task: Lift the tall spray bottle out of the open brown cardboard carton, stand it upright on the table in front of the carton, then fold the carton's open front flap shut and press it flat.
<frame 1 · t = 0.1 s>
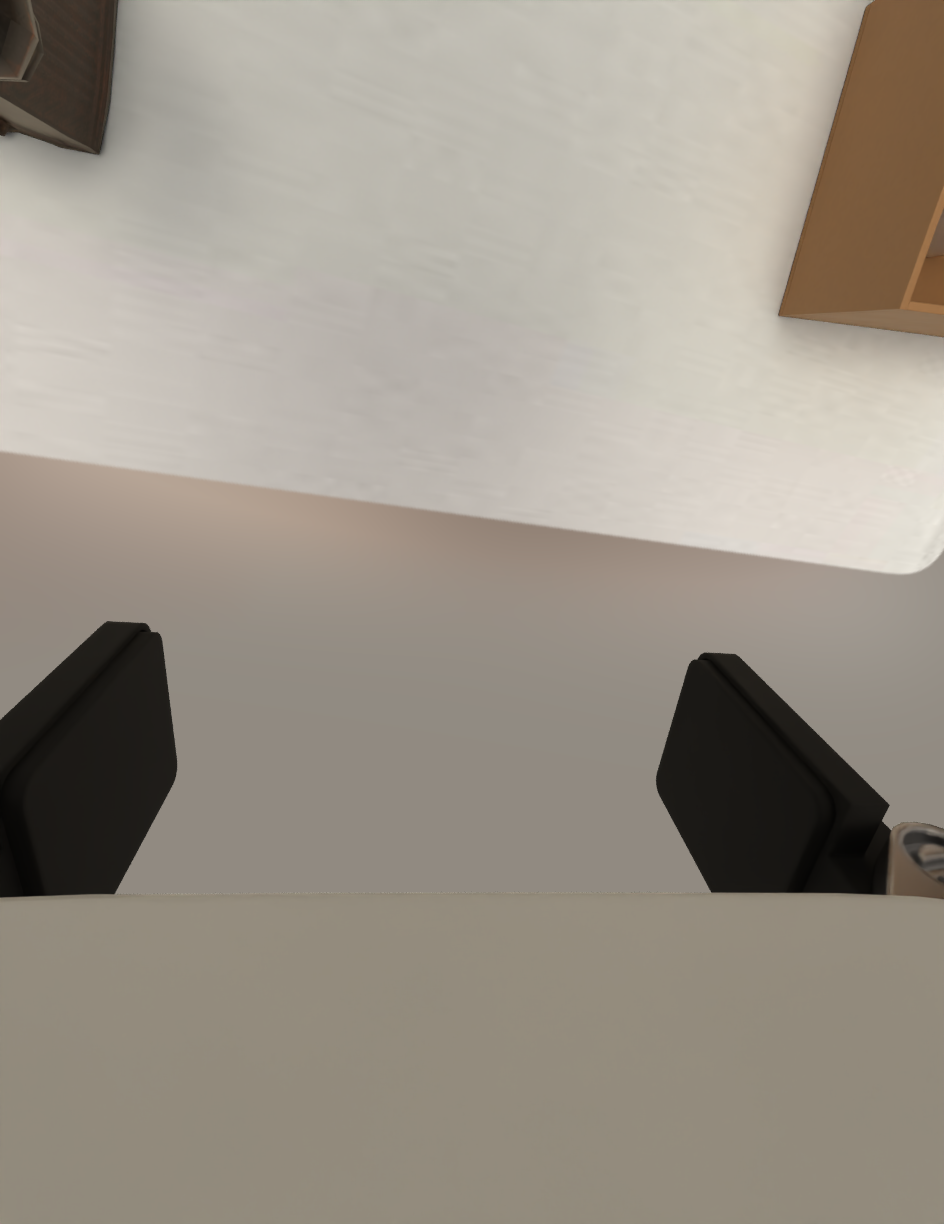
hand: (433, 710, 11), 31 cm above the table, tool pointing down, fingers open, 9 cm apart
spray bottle: (934, 192, 35), resting on carton
carton: (931, 193, 36), on the table
brown boxy piece: (56, 26, 29), on the table
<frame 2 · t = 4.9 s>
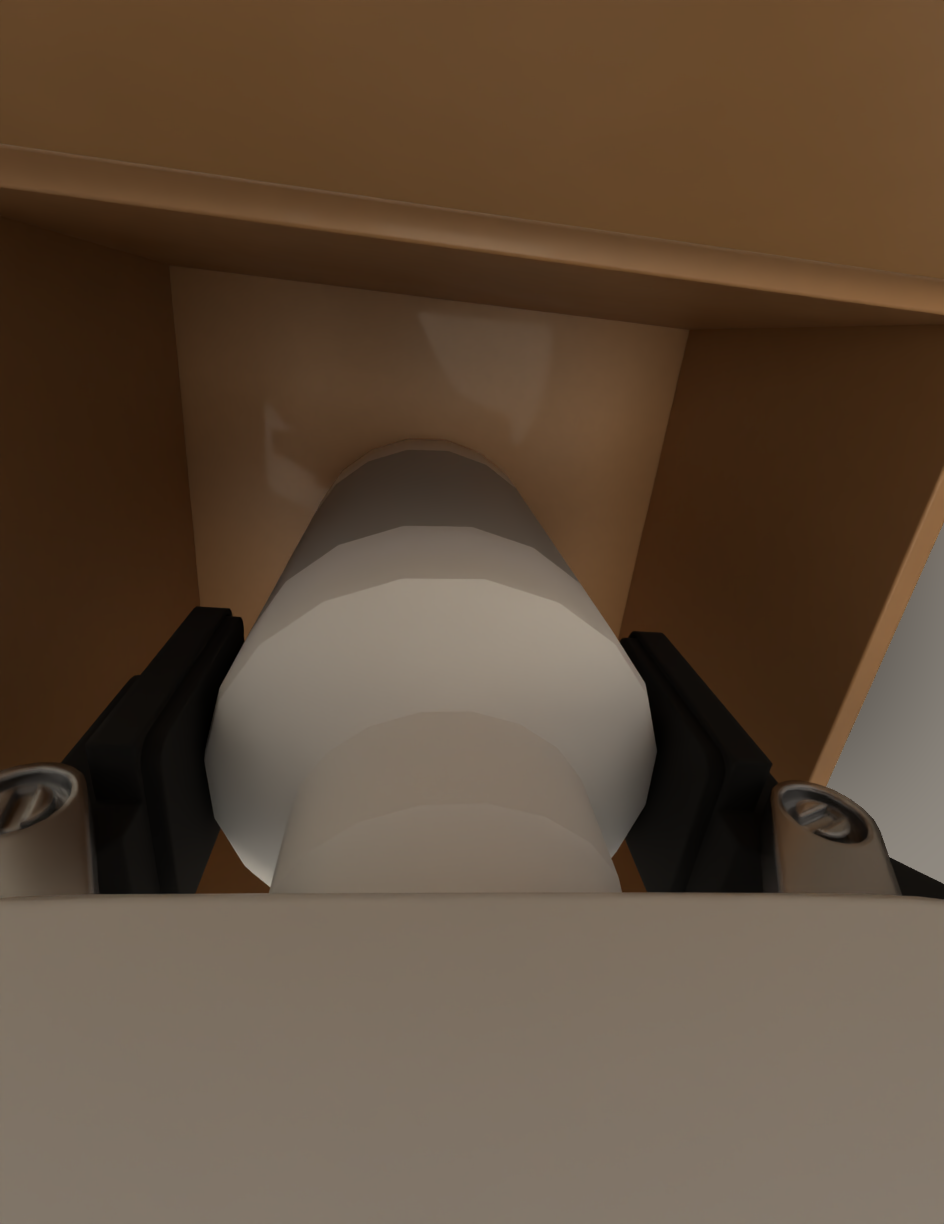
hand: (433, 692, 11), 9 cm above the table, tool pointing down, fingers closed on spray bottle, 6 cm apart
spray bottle: (424, 544, 19), resting on carton, touching gripper
carton: (424, 542, 19), on the table
when the fingers open (9 cm above the table, at t = 14.0 s): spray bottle stays where it is, on the table.
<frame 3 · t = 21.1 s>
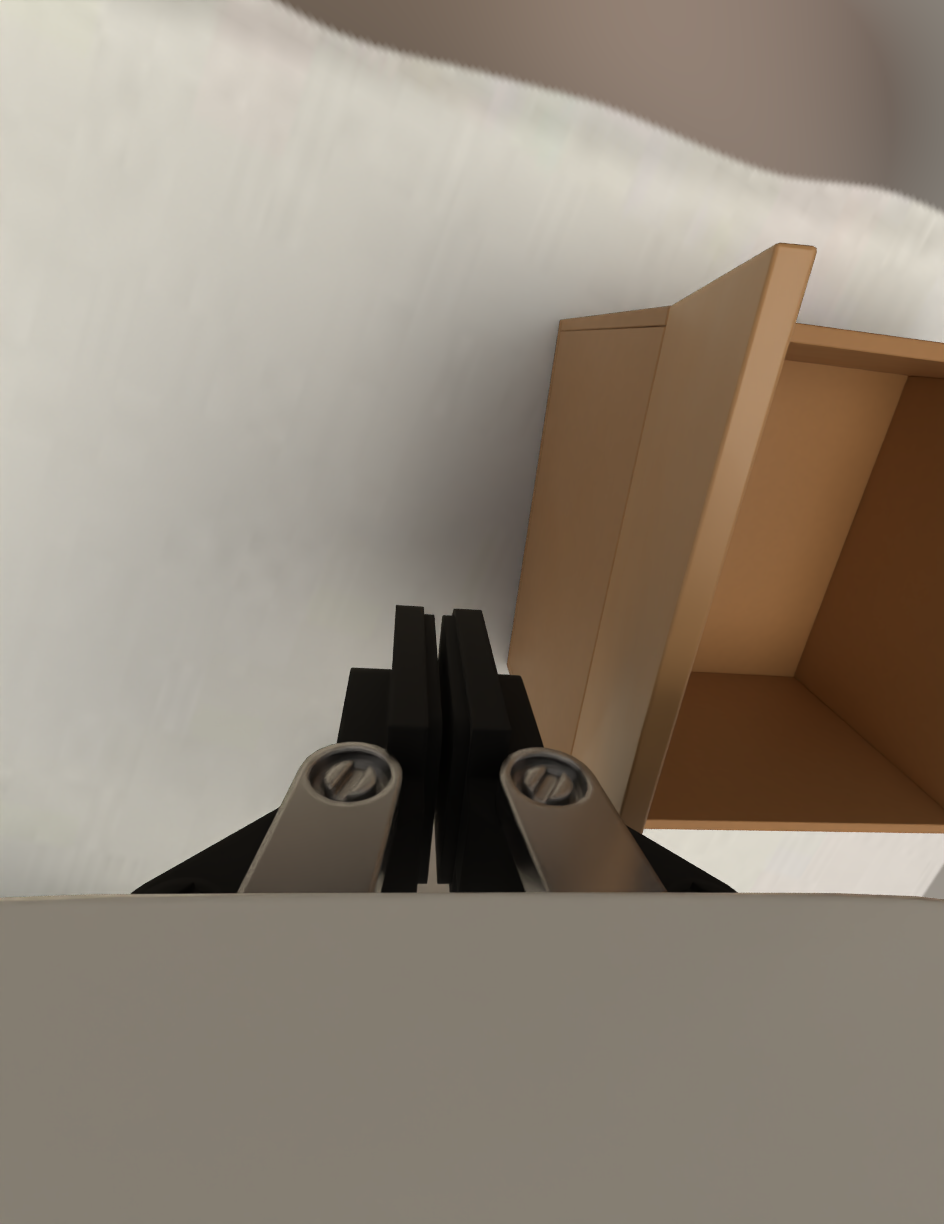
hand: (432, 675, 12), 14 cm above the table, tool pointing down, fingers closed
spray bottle: (399, 807, 31), on the table
flap: (615, 701, 12), point 15 cm above the table, hinge at 104.9°
carton: (694, 526, 26), on the table
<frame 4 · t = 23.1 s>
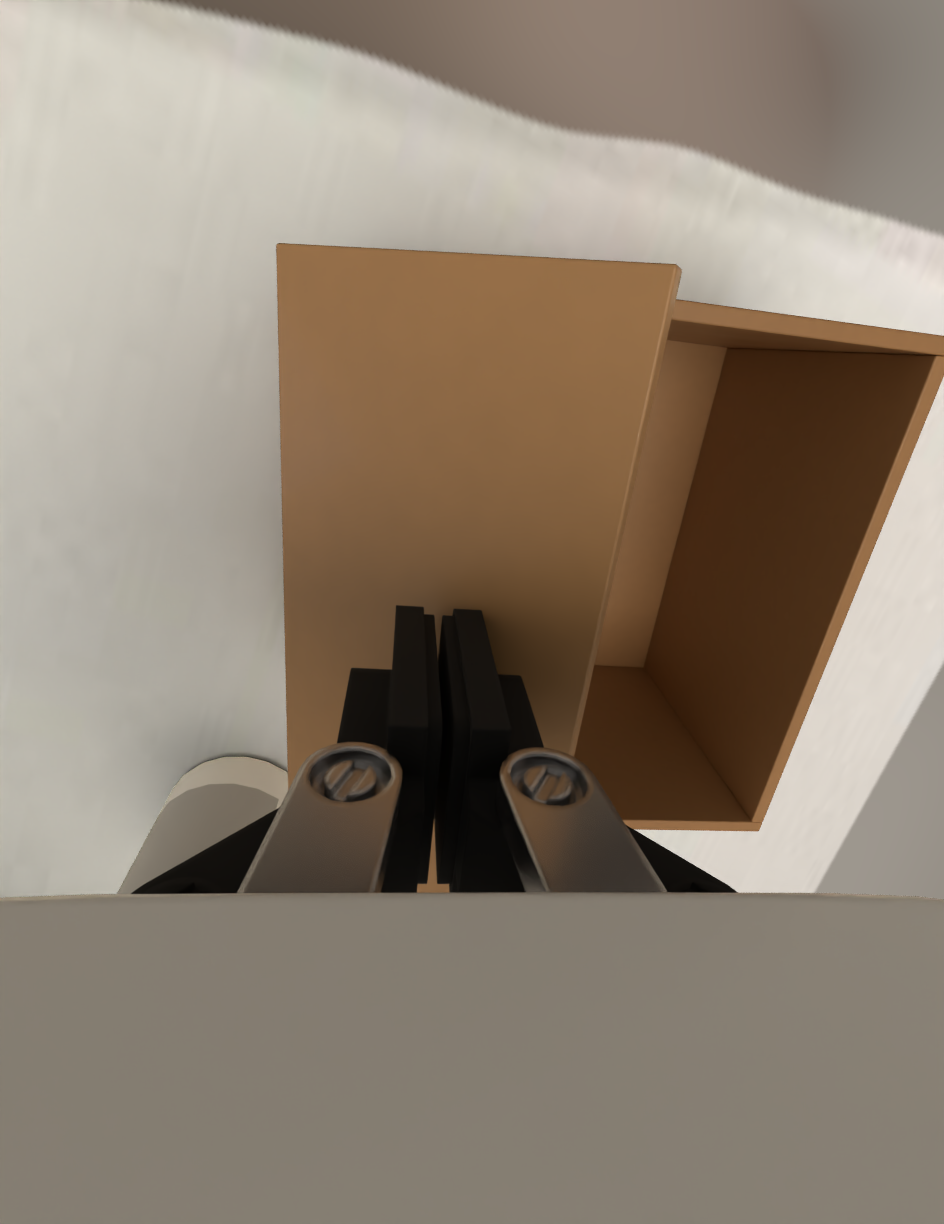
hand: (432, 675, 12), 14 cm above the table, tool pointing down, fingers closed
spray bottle: (243, 804, 30), on the table
flap: (419, 653, 13), point 13 cm above the table, hinge at 33.2°, touching gripper
carton: (518, 509, 25), on the table
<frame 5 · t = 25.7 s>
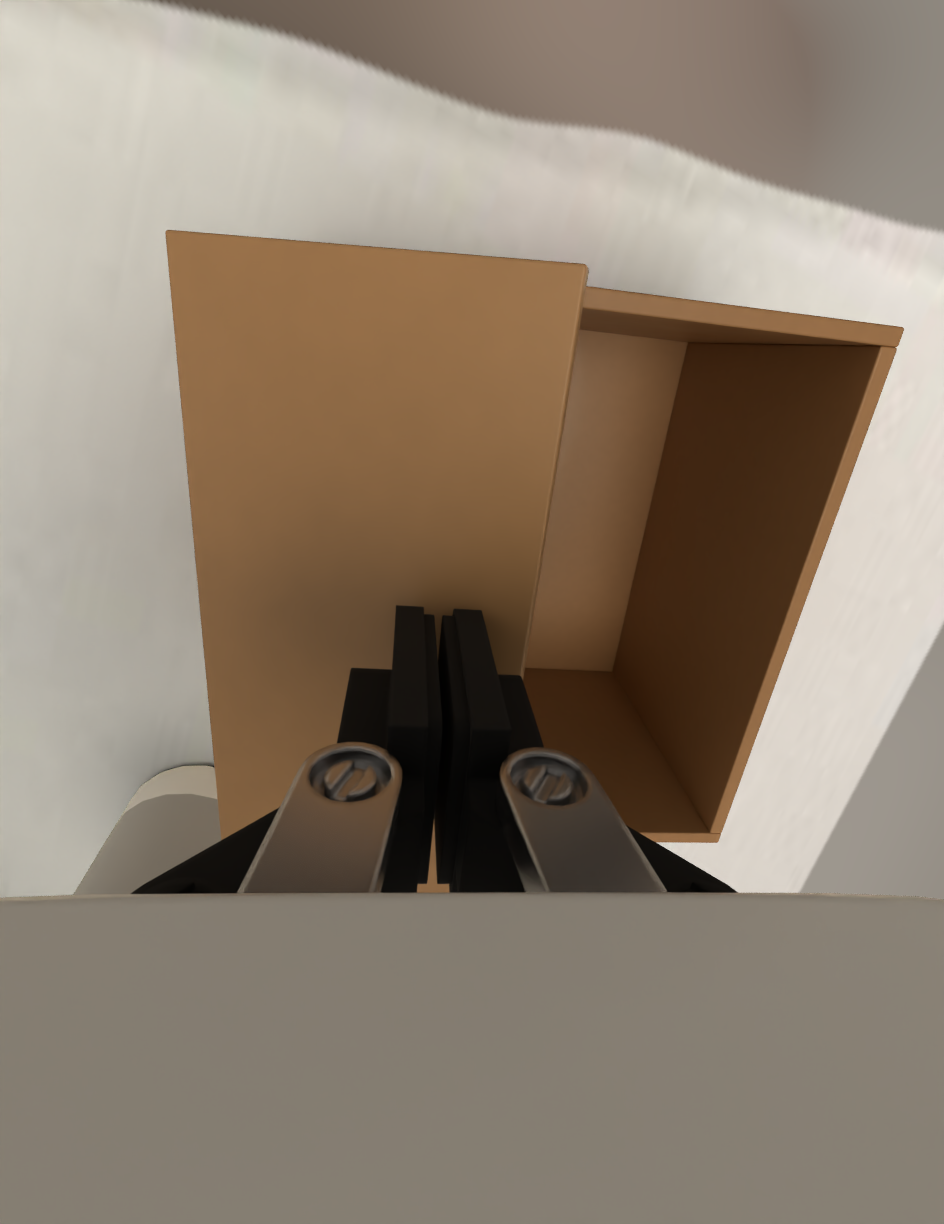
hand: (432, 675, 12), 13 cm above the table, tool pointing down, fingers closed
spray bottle: (206, 814, 30), on the table
flap: (354, 648, 13), point 12 cm above the table, hinge at 20.6°, touching gripper
carton: (478, 510, 24), on the table
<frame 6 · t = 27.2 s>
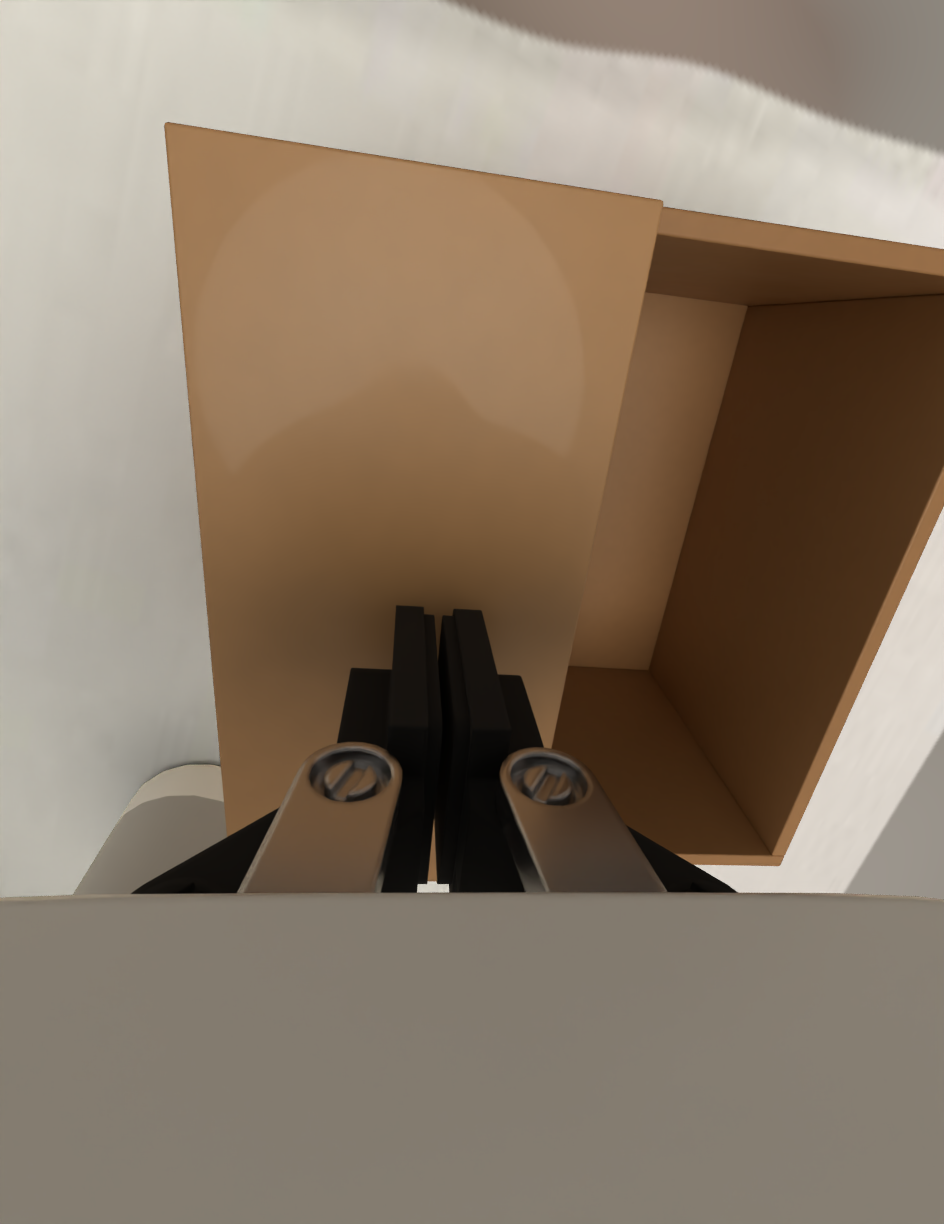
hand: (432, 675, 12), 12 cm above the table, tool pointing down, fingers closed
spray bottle: (211, 815, 28), on the table
flap: (399, 613, 12), point 11 cm above the table, hinge at -1.1°
carton: (508, 492, 22), on the table
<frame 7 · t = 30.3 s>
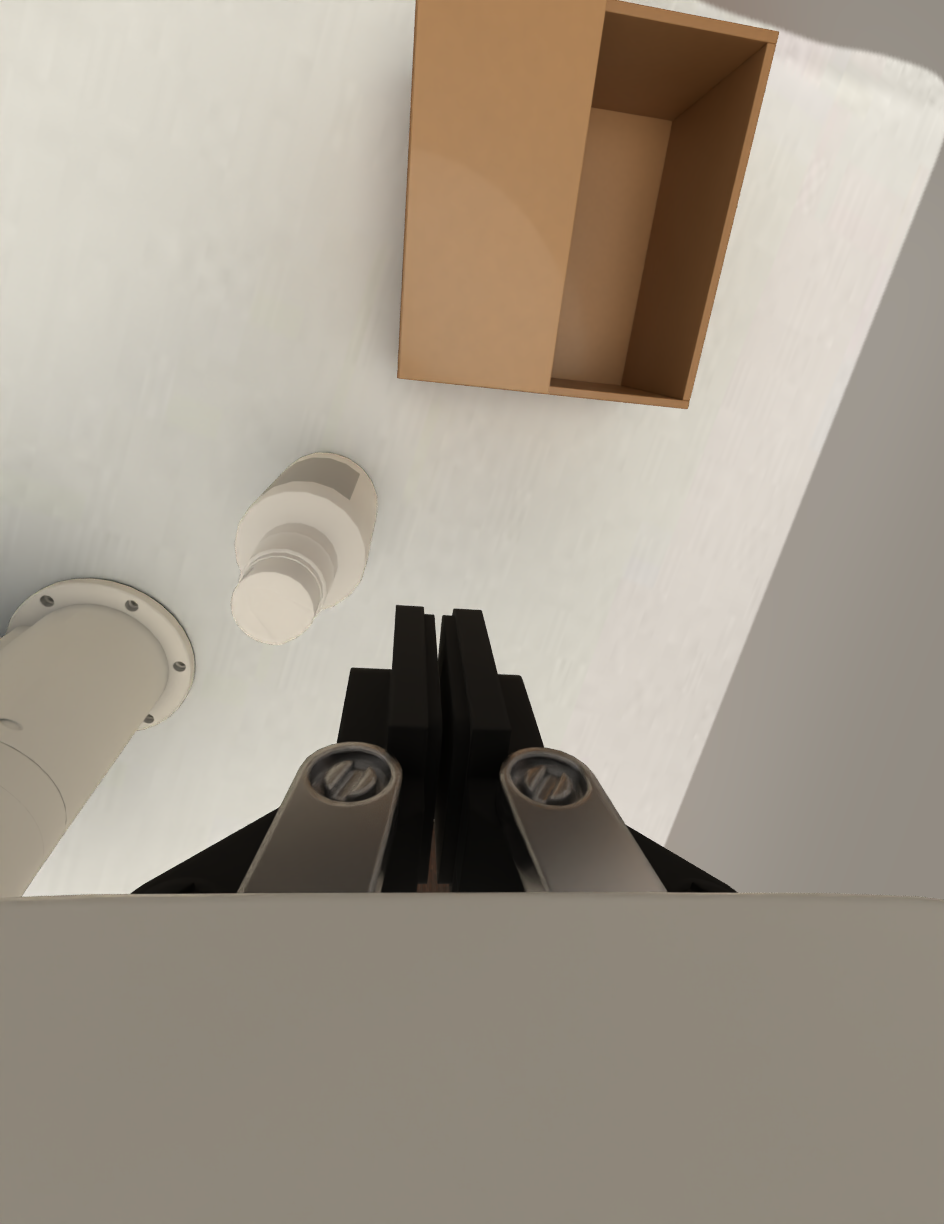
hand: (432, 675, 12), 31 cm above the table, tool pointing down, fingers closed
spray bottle: (328, 500, 41), on the table
flap: (492, 204, 25), point 11 cm above the table, hinge at -1.1°
carton: (531, 249, 36), on the table
brown boxy piece: (445, 845, 56), on the table
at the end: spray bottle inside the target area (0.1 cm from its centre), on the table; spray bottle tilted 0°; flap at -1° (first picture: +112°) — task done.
